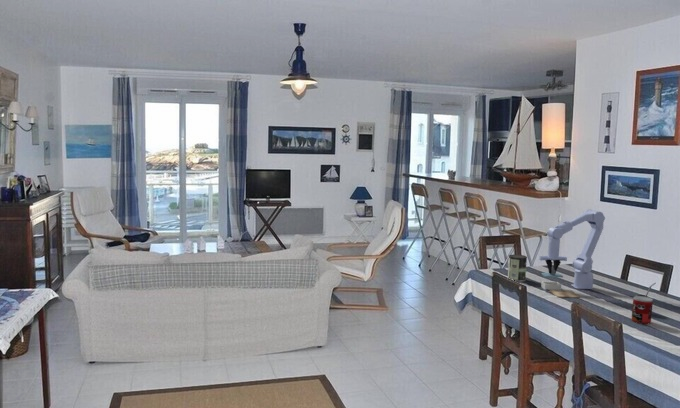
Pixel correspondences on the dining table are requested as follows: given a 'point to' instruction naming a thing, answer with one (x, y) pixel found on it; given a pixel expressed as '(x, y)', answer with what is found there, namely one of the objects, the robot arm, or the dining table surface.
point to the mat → (564, 293)
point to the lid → (552, 274)
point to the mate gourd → (647, 292)
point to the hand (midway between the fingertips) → (552, 273)
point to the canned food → (642, 309)
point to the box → (551, 285)
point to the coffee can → (517, 267)
